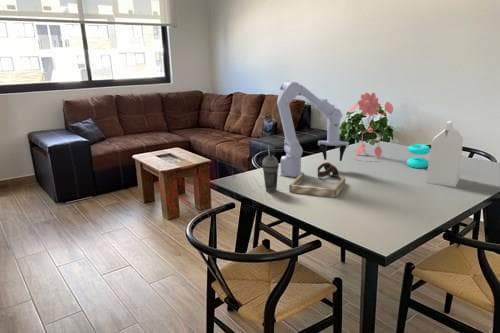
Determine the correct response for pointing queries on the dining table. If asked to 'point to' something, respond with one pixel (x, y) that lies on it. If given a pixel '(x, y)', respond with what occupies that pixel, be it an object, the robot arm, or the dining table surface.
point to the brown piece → (327, 170)
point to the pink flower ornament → (370, 106)
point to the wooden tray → (315, 188)
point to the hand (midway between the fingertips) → (333, 159)
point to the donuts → (418, 161)
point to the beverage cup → (270, 172)
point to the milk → (445, 157)
